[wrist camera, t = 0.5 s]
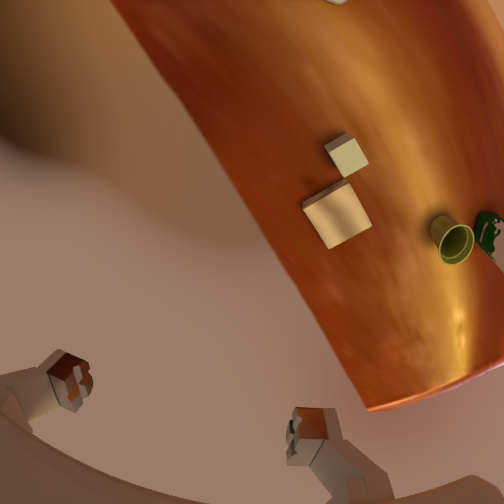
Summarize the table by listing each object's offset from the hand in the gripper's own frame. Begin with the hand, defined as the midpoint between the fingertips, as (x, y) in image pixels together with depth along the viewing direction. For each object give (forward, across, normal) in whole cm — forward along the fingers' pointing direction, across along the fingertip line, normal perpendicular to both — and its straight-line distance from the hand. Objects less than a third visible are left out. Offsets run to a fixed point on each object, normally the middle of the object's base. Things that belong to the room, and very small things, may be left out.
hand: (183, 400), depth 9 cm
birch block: (+48, -16, -4) cm, 51 cm away
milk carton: (+46, -56, -9) cm, 73 cm away
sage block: (+45, -14, -16) cm, 50 cm away
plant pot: (+47, -42, -6) cm, 63 cm away
